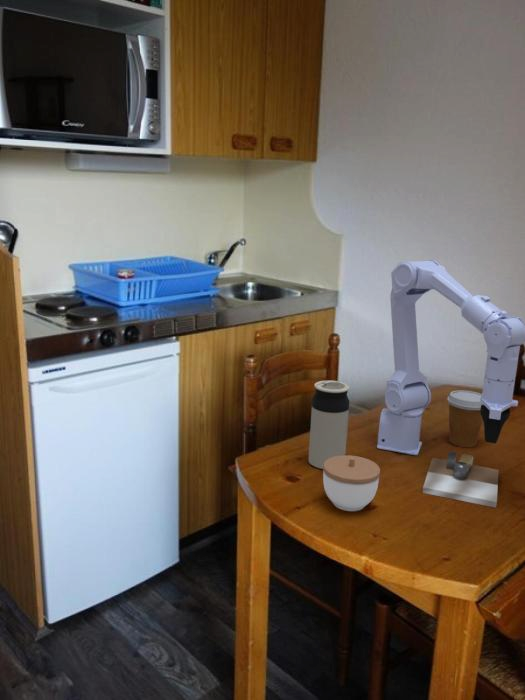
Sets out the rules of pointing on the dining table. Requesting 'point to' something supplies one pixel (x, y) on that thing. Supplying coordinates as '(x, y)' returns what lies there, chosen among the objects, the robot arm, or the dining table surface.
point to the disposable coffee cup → (464, 417)
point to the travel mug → (328, 422)
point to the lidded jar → (350, 481)
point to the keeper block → (451, 460)
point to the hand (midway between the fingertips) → (490, 441)
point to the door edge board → (462, 484)
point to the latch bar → (463, 466)
